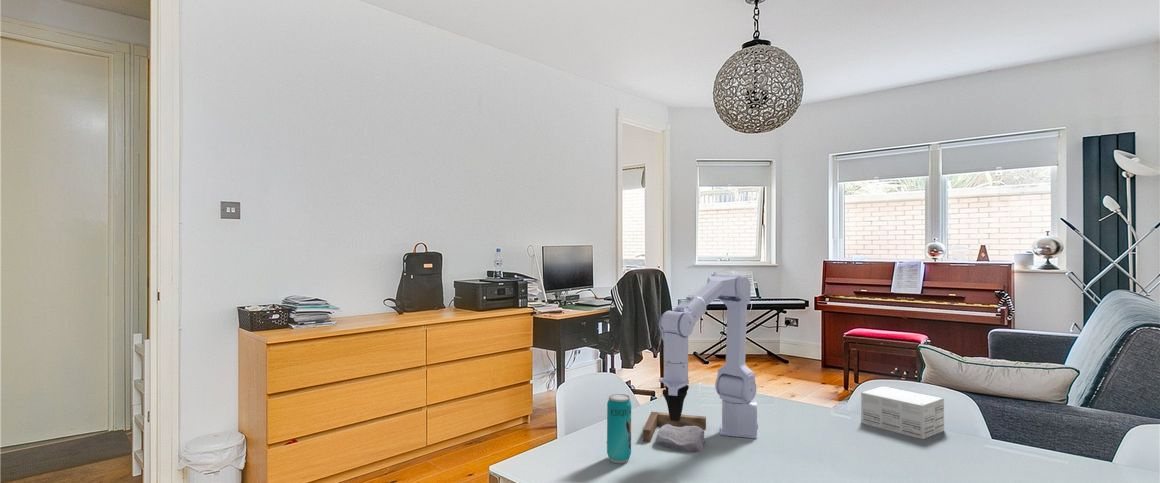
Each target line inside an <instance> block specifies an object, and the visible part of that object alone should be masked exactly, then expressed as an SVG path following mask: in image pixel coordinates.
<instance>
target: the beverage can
mask: <svg viewBox="0 0 1160 483" xmlns="http://www.w3.org/2000/svg"><path fill="white" fill-rule="evenodd" d="M630 399H631V396H630V395H627V394H622V393H614V394H610V395H608V400H607V404H606V410H607V412H606V413H607V414H606V416H607V417H606V419H607V420H606V421H607V422H606V439H607V440H606V454H607V456H608V459H609V460H610V462H611V463H615V464H624V463H627V462H628V461H629V460H630V458H631V454H632V401H631V400H630Z"/></svg>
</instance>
